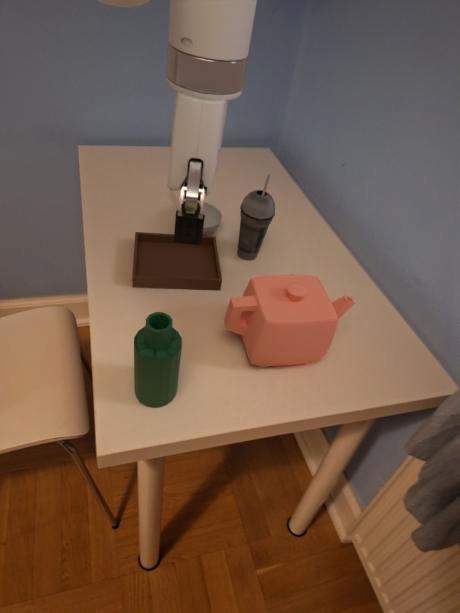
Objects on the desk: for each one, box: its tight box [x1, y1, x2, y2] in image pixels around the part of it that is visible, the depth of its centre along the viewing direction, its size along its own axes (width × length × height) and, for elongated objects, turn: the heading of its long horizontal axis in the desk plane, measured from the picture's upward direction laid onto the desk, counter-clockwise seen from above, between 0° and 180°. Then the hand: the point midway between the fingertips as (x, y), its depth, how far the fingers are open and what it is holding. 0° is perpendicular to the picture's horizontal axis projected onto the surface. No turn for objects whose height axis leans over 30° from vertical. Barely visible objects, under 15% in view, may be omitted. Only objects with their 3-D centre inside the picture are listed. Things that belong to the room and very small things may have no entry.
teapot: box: [223, 274, 356, 369], centre depth 69 cm, size 22×13×14 cm, turn 101°
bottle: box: [133, 311, 183, 409], centre depth 58 cm, size 6×6×16 cm
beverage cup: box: [236, 174, 276, 261], centre depth 84 cm, size 7×7×20 cm
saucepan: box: [174, 201, 223, 236], centre depth 96 cm, size 11×18×4 cm, turn 13°
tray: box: [131, 231, 223, 291], centre depth 83 cm, size 17×14×3 cm
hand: (190, 219), depth 51 cm, fingers open, 9 cm apart
